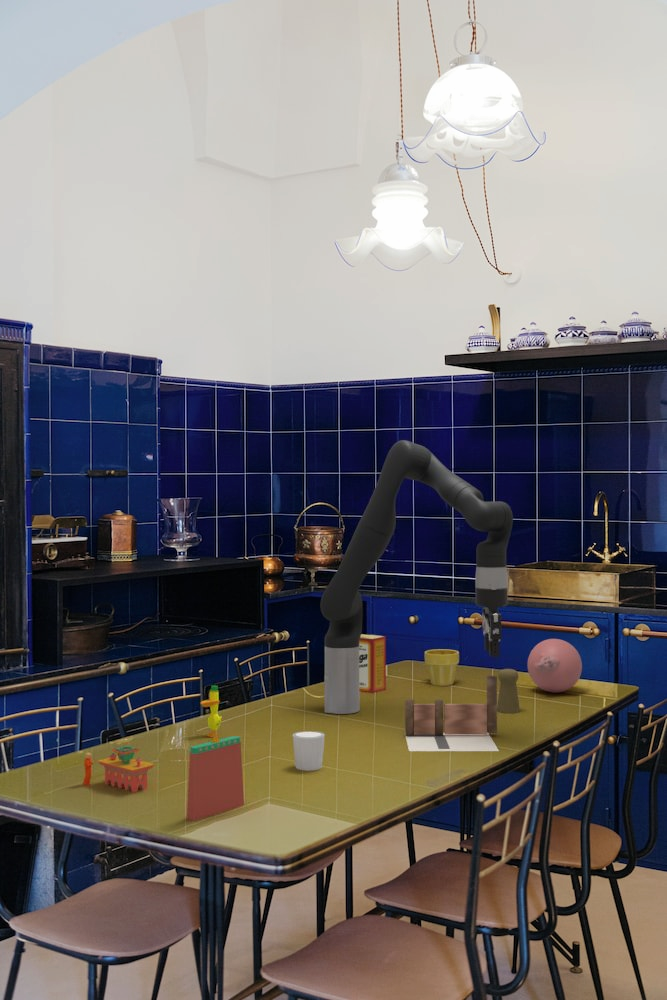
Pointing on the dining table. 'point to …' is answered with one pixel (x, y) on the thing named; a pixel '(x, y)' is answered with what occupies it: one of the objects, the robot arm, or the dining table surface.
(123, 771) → the toy building block set
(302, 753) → the white short tapered cylinder
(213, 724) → the toy figure
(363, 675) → the baking soda box
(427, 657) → the plant pot
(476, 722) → the hinged fence panel
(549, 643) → the pink rubber ball
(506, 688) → the brown tall tapered piece
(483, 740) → the card
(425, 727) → the fence fixed section
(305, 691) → the dining table surface
